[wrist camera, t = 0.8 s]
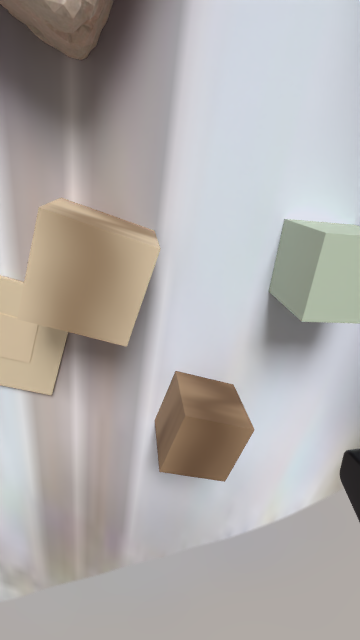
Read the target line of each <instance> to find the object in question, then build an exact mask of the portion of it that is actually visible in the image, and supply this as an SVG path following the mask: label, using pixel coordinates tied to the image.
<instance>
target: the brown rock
mask: <svg viewBox="0 0 360 640" xmlns="http://www.w3.org/2000/svg"><path fill="white" fill-rule="evenodd" d="M113 1H114V0H0V4H1V5H2V6H3V7H4V8H6V9H8V11H9V14H12V15H13V16H14V17H15V18H16V19H18V20H19V21H21V22H22V23H24V24H25V25H27V27H28V28H29V29H30V30H31V31H32V32H33V33H34V34H35V35H36V36H37V37H38V38H40V39H41V40H42V41H43V42H45V43H46V44H48V45H50V46H52V47H54V48H56V49H58V50H59V51H61V52H62V53H63V54H65V55H66V56H68V57H71V58H75V59H80V60H82V59H85V58H87V57H88V55H89V53H90V51H91V50H92V49H93V48H94V47H95V46H96V45H97V42H98V39H99V36H100V33H101V30H102V28H103V27H104V25H105V24H106V22H107V20H108V16H109V13H110V10H111V7H112V4H113Z"/></svg>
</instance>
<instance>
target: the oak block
mask: <svg viewBox="0 0 360 640" xmlns="http://www.w3.org/2000/svg"><path fill="white" fill-rule="evenodd" d="M159 252H160V246H159V243H158V240H157V237H156V234H155V231H154V230H151V229H148V228H145V227H142V226H140V225H137V224H134V223H131V222H128V221H126V220H123V219H120V218H117V217H114V216H111V215H109V214H106V213H103V212H100V211H97V210H94V209H92V208H89V207H86V206H83V205H80V204H77V203H75V202H72V201H69V200H66V199H63V198H59V199H57V200H55V201H52V202H50V203H48V204H45V205H43V206H41V207H39V209H38V214H37V219H36V224H35V230H34V235H33V240H32V245H31V250H30V255H29V260H28V266H27V271H26V276H25V281H24V286H23V291H22V297H21V302H20V307H19V312H18V317H17V319H18V320H22V321H26V322H30V323H34V324H38V325H42V326H46V327H50V328H54V329H58V330H62V331H66V332H70V333H74V334H78V335H82V336H86V337H90V338H94V339H98V340H102V341H106V342H110V343H114V344H118V345H122V346H126V347H127V345H128V342H129V339H130V336H131V333H132V330H133V327H134V324H135V321H136V318H137V316H138V313H139V310H140V307H141V304H142V301H143V298H144V295H145V292H146V289H147V286H148V284H149V281H150V278H151V275H152V272H153V269H154V266H155V263H156V260H157V257H158V255H159Z"/></svg>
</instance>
